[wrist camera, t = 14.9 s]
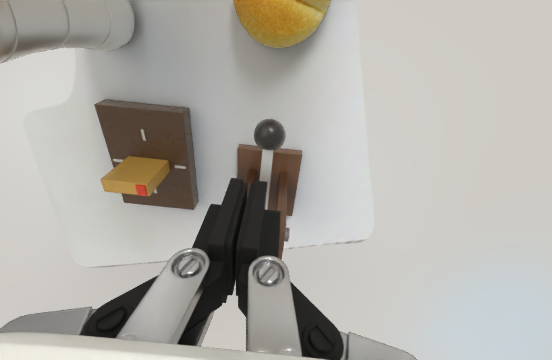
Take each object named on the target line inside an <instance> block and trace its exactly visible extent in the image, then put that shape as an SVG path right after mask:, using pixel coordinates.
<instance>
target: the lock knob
mask: <svg viewBox="0 0 552 360" xmlns="http://www.w3.org/2000/svg"><path fill="white" fill-rule="evenodd" d="M169 172H170V167H169V161H168V160H161V159H152V158H142V157H133V156H128V157H127V158H126V159H125V160H123V161H122V162H121V163H120V164H119V165H117V166H116V167H115V168H114V169H113V170H111V171H110V172H109V173H108V174H107V175H105V176H104V177H103V178H102V179H101V182H102V185H103V188H104V191H106V192H116V193H125V194H135V195H140V196H150V195H151V194H152V193H153V191H154V190H155V189H156V188H157V186H158V185H159V184H160V183H161V182H162V180H163V179H164V178H165V177H166V175H167V174H168V173H169Z"/></svg>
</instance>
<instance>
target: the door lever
mask: <svg viewBox="0 0 552 360" xmlns="http://www.w3.org/2000/svg"><path fill="white" fill-rule="evenodd" d="M254 140H255V142H256V144H257V145H258V147H260V148H261V149H263V150H262V160H261V170H260V180H259V181H265V182H267V193H266V205H265V209H266V210H268V201H269V191H270V181H271V172H272V162H273V152H274V150H277V149H278V148H280V147H281V146H282V145H283V143H284V141H285V130H284V127H283V126H282V125H281V123H279V122H278V121H276V120H274V119H266V120H263V121H261V122H260V123H259V124H258V125H257V126H256V128H255V130H254Z"/></svg>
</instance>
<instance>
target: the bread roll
mask: <svg viewBox="0 0 552 360" xmlns="http://www.w3.org/2000/svg"><path fill="white" fill-rule="evenodd" d="M330 1H331V0H234V5H235V9H236V12H237V15H238V18H239V20H240V22H241V24H242V25H243V27H244V28H245V29H246V31H247V32H248V33H249V34H250V36H251V37H252V38H253V39H255V40H256V41H257V42H259V43H261V44H263V45H265V46H267V47H273V48H284V47H290V46H293V45H296V44H297V43H300V42H302V41H303V40H305V39H306V38H307V37H308V36H310V35H311V34H312V33H313V32H314V31H315V30H316V29H317V28H318V26H319V25H320V23H321V22H322V20H323V18H324V15H325V13H326V11H327V9H328V7H329V4H330Z"/></svg>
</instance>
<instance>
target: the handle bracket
mask: <svg viewBox="0 0 552 360" xmlns="http://www.w3.org/2000/svg"><path fill="white" fill-rule="evenodd" d="M262 150H263V149H261V148H260V147H258V146H250V145H241V144H239V146H238V173H237V179H243V180H244V182H245V183H248V191H247V198H248V193H249V189H250V185H251V183H255V182H256V181H259V180H260V170H261V160H262ZM301 158H302V151H298V150H289V149H279V148H278V149H277V150H274V152H273V162H272V172H271V181H270V191H269V201H268V210H276V211H281V217H280V236H279V255H278V258H279V259H280V260H281V259H282V252H283V246H284V241H288V239H289V228H286V216H292V214H293V208H294V201H295V195H296V189H297V183H298V177H299V170H300V164H301Z"/></svg>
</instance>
